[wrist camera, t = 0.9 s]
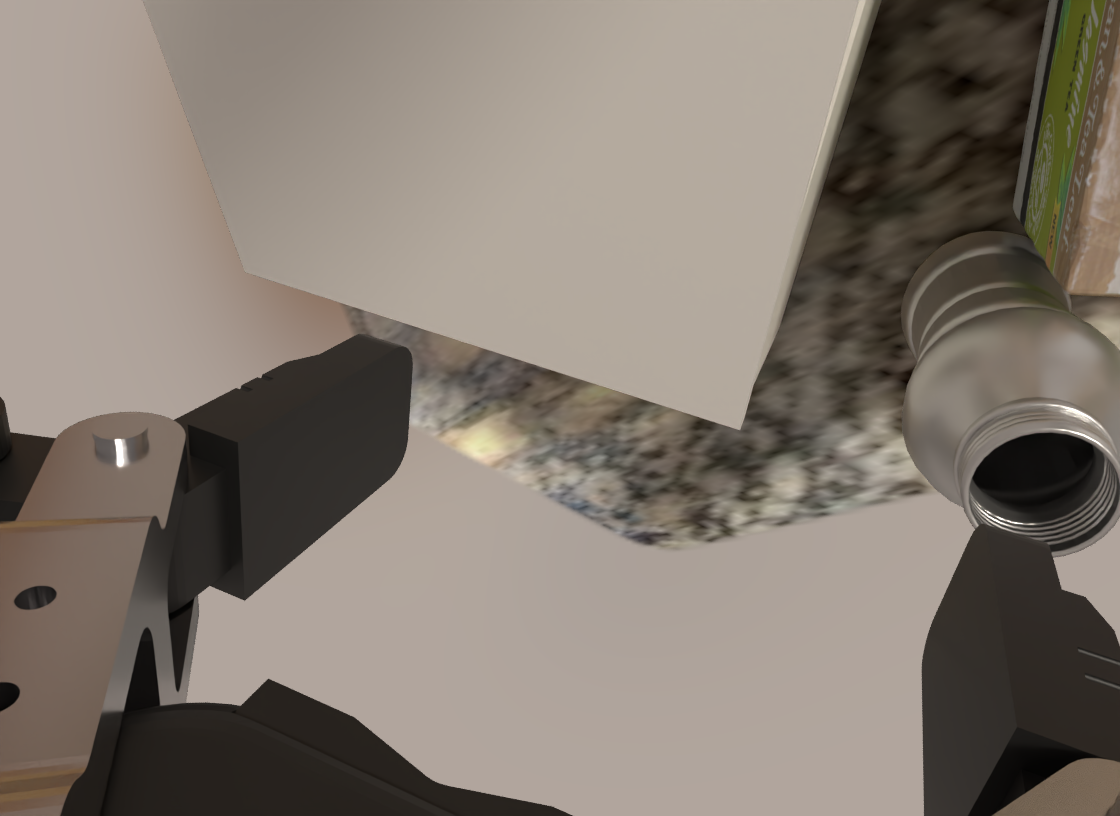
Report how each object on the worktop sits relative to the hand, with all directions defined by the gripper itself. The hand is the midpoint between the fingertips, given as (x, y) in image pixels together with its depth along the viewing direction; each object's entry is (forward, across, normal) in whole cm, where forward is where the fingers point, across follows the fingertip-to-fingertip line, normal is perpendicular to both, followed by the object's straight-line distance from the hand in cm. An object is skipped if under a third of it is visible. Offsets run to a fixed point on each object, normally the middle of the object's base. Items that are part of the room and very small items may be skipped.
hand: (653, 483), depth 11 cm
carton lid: (+15, +11, -4) cm, 19 cm away
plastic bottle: (+31, -8, +4) cm, 32 cm away
